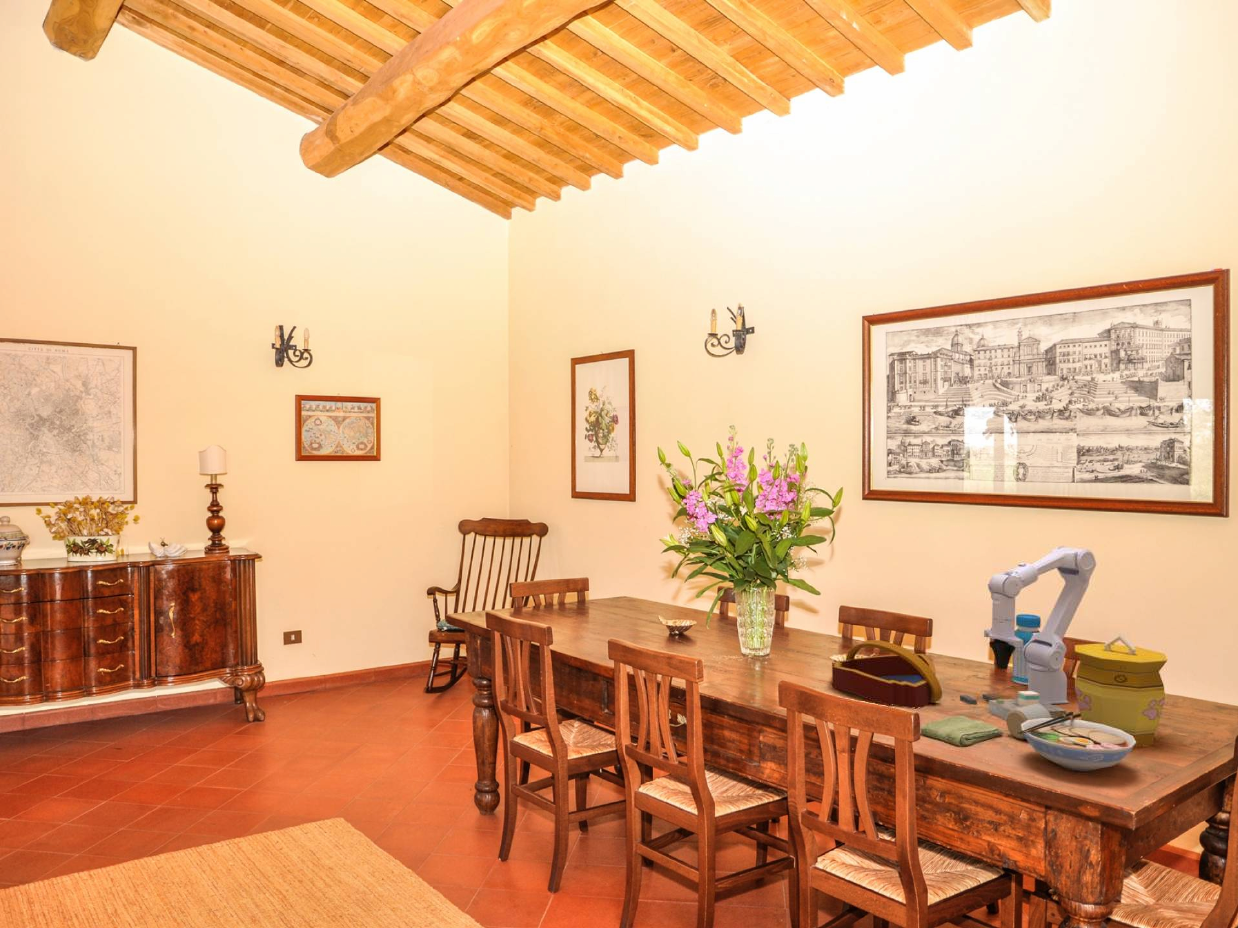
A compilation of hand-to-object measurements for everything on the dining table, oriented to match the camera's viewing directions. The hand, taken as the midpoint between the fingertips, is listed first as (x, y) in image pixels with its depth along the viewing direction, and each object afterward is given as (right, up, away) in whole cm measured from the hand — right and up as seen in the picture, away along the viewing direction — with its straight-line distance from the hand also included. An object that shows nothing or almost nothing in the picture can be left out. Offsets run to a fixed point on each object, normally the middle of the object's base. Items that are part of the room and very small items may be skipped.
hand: (1002, 668), depth 253 cm
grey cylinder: (-5, -11, -30) cm, 32 cm away
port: (+1, -10, -12) cm, 16 cm away
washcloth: (-21, -11, -27) cm, 36 cm away
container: (+17, -11, -27) cm, 34 cm away
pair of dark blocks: (-5, -10, +3) cm, 11 cm away
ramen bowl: (-4, -11, -49) cm, 50 cm away
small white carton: (+2, -10, -12) cm, 16 cm away
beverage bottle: (+18, -10, +26) cm, 33 cm away
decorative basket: (-27, -10, +12) cm, 32 cm away
